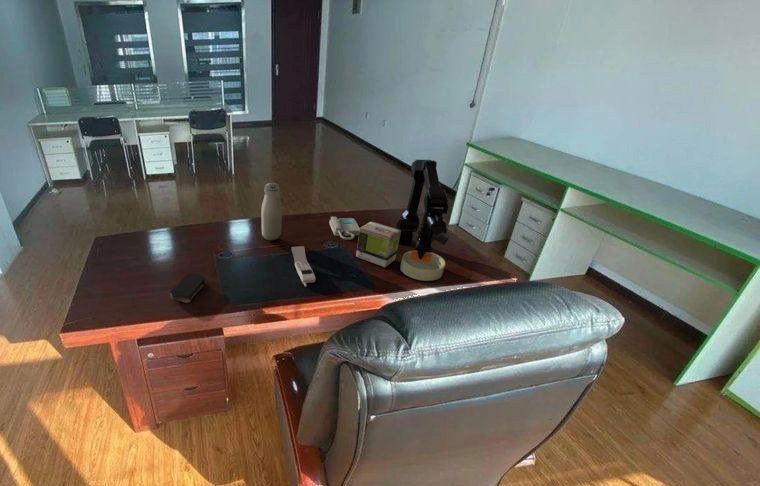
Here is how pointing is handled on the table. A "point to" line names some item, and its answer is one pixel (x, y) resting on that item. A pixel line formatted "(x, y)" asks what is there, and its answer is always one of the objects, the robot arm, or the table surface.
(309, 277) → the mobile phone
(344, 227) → the intercom
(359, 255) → the tea box
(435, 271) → the bowl
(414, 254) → the knife
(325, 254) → the table surface
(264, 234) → the white water bottle
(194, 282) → the black sponge
